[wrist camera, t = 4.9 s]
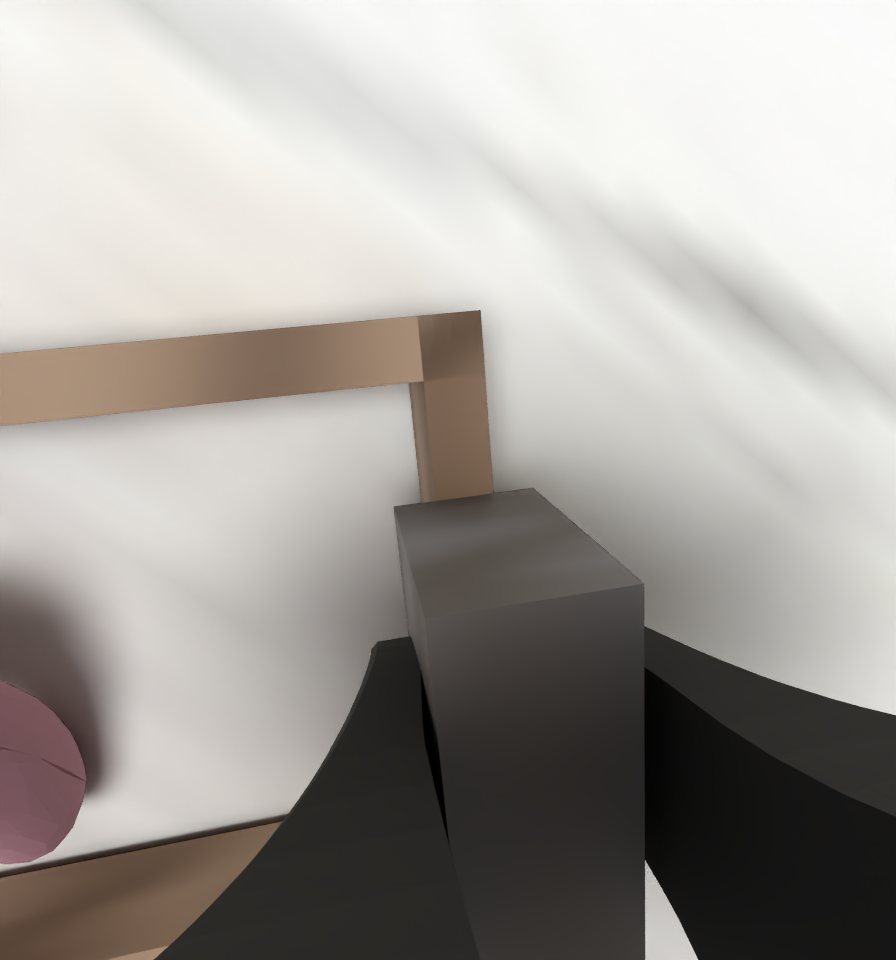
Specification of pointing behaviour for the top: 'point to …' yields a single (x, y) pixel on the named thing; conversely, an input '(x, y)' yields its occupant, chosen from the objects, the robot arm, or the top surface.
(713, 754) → the robot arm
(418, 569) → the sliding frame
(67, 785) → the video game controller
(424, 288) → the top surface
